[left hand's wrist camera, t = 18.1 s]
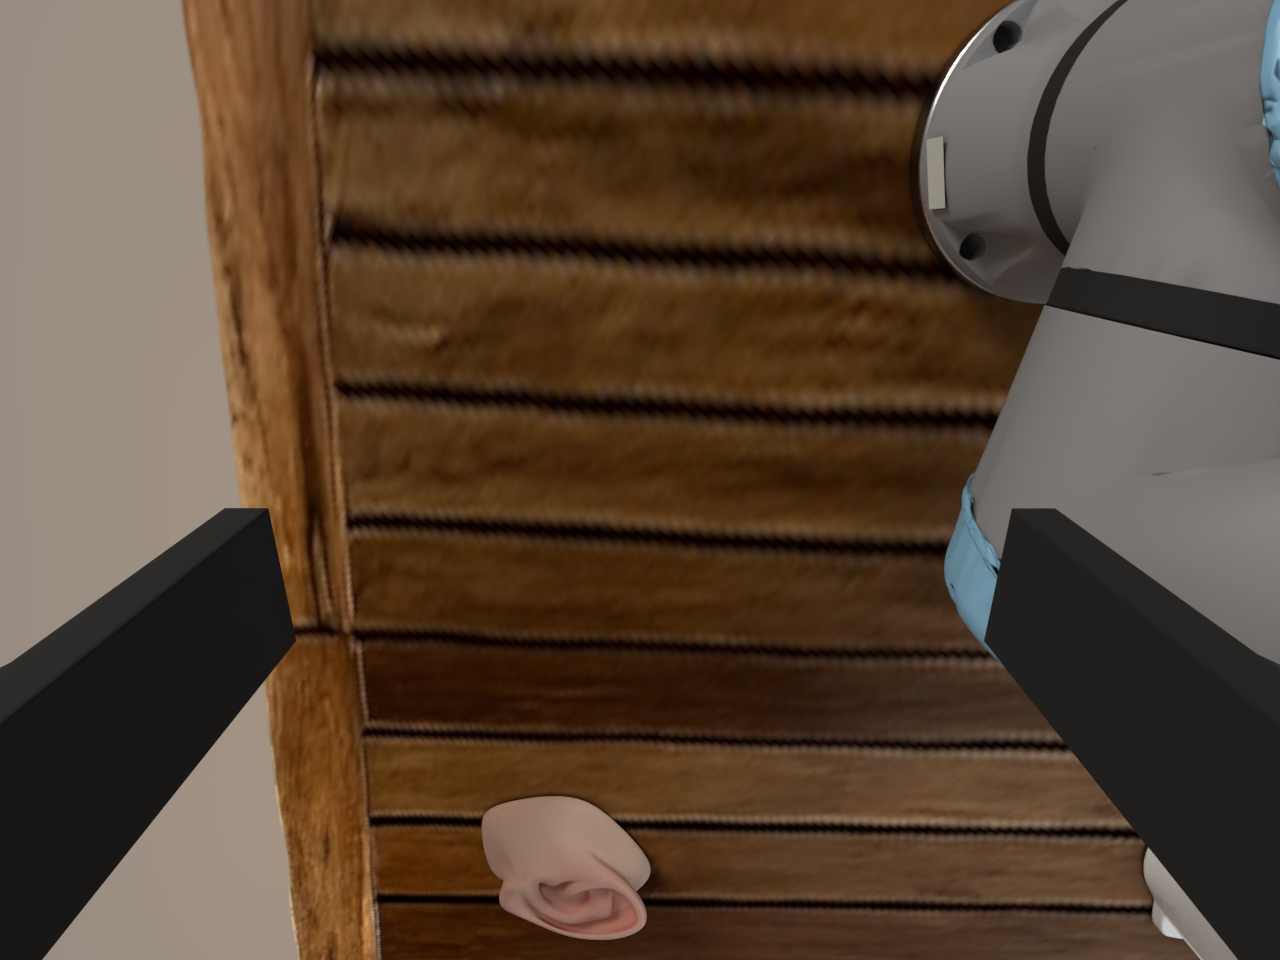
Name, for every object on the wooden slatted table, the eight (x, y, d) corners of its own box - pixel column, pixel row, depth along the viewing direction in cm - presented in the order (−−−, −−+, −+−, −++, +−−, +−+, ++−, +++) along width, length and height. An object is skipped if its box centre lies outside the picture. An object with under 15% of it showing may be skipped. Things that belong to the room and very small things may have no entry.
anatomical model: (441, 866, 50) (581, 811, 48) (454, 821, 54) (586, 768, 52) (534, 978, 54) (667, 931, 52) (541, 928, 58) (665, 883, 56)
